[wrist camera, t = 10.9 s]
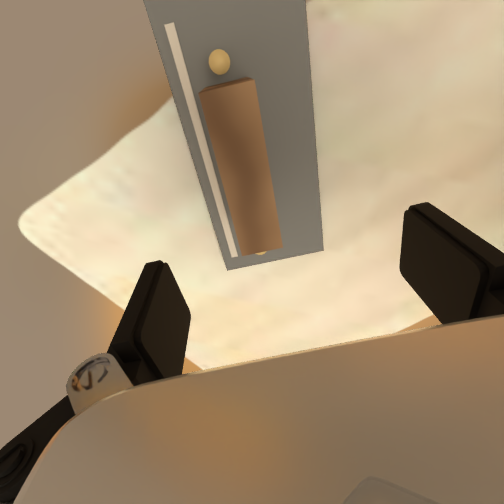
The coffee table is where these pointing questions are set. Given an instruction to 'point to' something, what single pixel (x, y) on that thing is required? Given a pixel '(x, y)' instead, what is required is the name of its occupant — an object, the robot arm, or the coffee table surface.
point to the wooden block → (243, 162)
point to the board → (269, 97)
